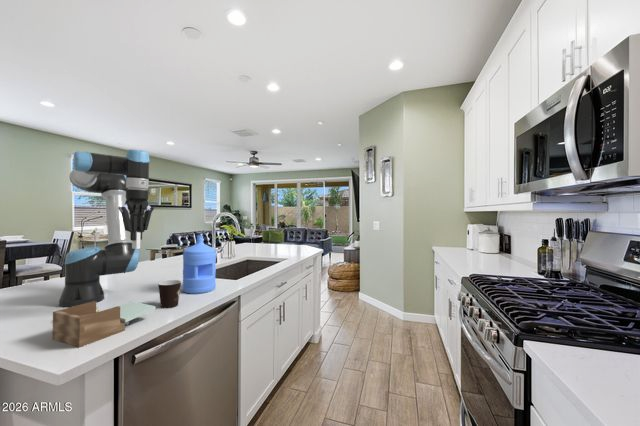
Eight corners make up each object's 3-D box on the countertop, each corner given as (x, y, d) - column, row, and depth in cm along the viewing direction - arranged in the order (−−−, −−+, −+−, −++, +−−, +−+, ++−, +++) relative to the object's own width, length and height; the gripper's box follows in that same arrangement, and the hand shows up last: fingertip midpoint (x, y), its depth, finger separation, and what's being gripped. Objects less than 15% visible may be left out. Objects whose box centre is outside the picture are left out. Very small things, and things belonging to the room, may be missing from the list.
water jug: (189, 286, 149) (189, 234, 149) (218, 285, 151) (219, 234, 151) (177, 294, 134) (178, 237, 134) (210, 294, 135) (211, 237, 135)
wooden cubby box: (52, 338, 86) (52, 311, 86) (98, 323, 98) (99, 299, 98) (79, 347, 81) (79, 318, 81) (124, 330, 93) (125, 305, 93)
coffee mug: (170, 310, 113) (171, 285, 113) (152, 308, 114) (153, 284, 114) (189, 301, 124) (190, 279, 124) (173, 299, 126) (173, 277, 126)
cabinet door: (125, 319, 93) (155, 306, 103) (100, 313, 98) (131, 301, 108) (125, 325, 93) (155, 312, 104) (100, 319, 98) (131, 307, 109)
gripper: (126, 188, 102) (125, 251, 102) (159, 190, 114) (157, 247, 114) (113, 188, 105) (112, 249, 105) (146, 190, 117) (145, 245, 117)
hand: (136, 248), depth 110 cm, fingers closed
